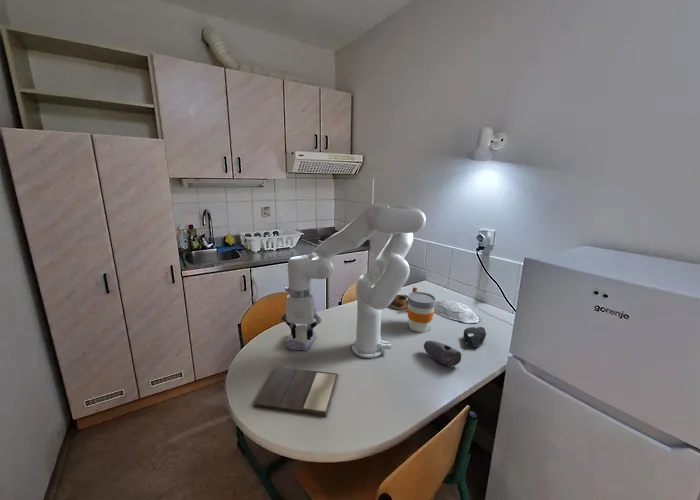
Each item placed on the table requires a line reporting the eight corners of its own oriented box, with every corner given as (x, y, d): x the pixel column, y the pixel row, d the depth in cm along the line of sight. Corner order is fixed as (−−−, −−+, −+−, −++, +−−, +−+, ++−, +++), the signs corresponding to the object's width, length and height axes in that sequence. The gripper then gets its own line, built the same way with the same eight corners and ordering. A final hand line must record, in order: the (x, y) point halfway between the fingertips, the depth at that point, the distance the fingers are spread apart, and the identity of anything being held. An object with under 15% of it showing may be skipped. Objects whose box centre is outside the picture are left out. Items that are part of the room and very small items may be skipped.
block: (285, 352, 119) (308, 351, 117) (282, 341, 118) (306, 340, 116) (296, 337, 131) (317, 336, 128) (294, 327, 130) (315, 326, 127)
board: (337, 375, 104) (337, 373, 104) (325, 416, 87) (325, 413, 86) (277, 368, 107) (277, 365, 107) (254, 406, 90) (254, 403, 89)
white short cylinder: (310, 334, 111) (310, 325, 110) (306, 342, 107) (306, 332, 106) (297, 333, 112) (297, 324, 111) (293, 341, 107) (293, 331, 106)
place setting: (382, 299, 166) (383, 290, 164) (414, 296, 172) (415, 286, 170) (396, 314, 150) (397, 303, 148) (431, 309, 156) (432, 299, 154)
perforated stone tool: (419, 353, 118) (421, 337, 116) (427, 348, 122) (429, 333, 120) (453, 372, 107) (455, 356, 105) (461, 367, 111) (463, 350, 109)
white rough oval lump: (471, 326, 139) (473, 312, 138) (424, 310, 156) (425, 298, 155) (484, 318, 150) (485, 305, 149) (438, 304, 167) (439, 293, 166)
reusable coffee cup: (422, 337, 130) (425, 305, 126) (399, 325, 139) (402, 296, 135) (438, 328, 138) (441, 298, 134) (416, 317, 147) (418, 289, 143)
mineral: (491, 349, 122) (493, 337, 120) (469, 349, 122) (471, 336, 120) (480, 336, 132) (482, 324, 130) (460, 336, 132) (461, 324, 130)
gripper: (272, 294, 102) (276, 341, 107) (321, 297, 100) (322, 345, 105) (280, 286, 109) (283, 330, 114) (326, 288, 107) (327, 333, 112)
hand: (302, 336), depth 109 cm, fingers closed on white short cylinder, 5 cm apart
